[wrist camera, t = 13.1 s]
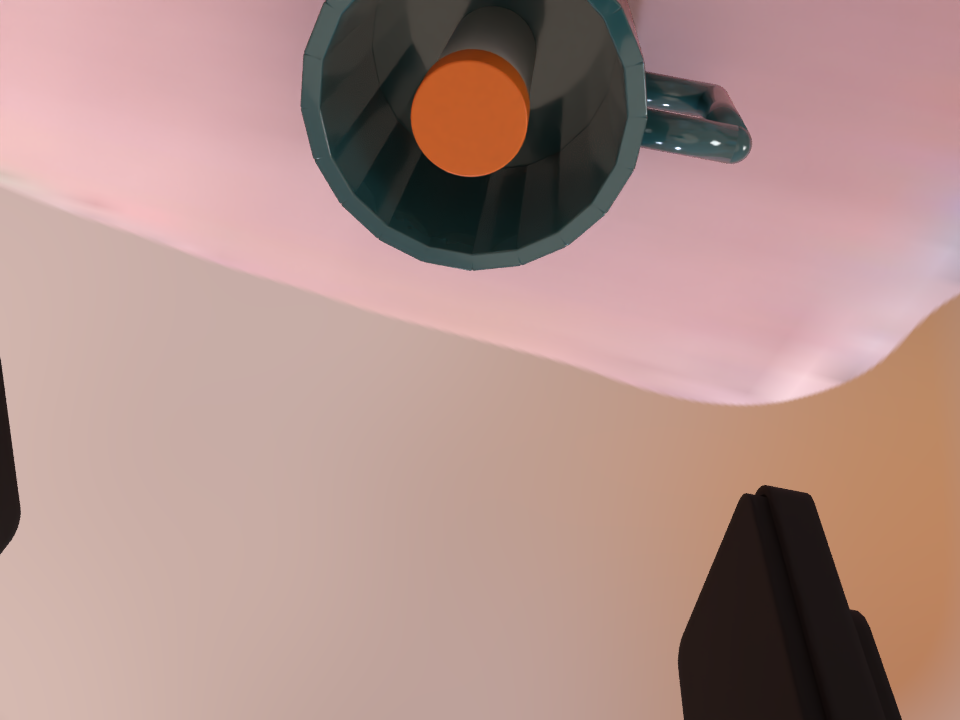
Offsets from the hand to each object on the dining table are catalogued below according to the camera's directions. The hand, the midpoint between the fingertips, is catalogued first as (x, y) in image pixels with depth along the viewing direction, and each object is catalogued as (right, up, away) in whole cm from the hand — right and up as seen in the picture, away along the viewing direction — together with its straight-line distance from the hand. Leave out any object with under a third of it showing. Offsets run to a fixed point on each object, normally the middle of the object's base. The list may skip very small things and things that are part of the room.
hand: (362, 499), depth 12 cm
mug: (+4, +13, +23) cm, 27 cm away
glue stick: (+2, +13, +23) cm, 26 cm away
